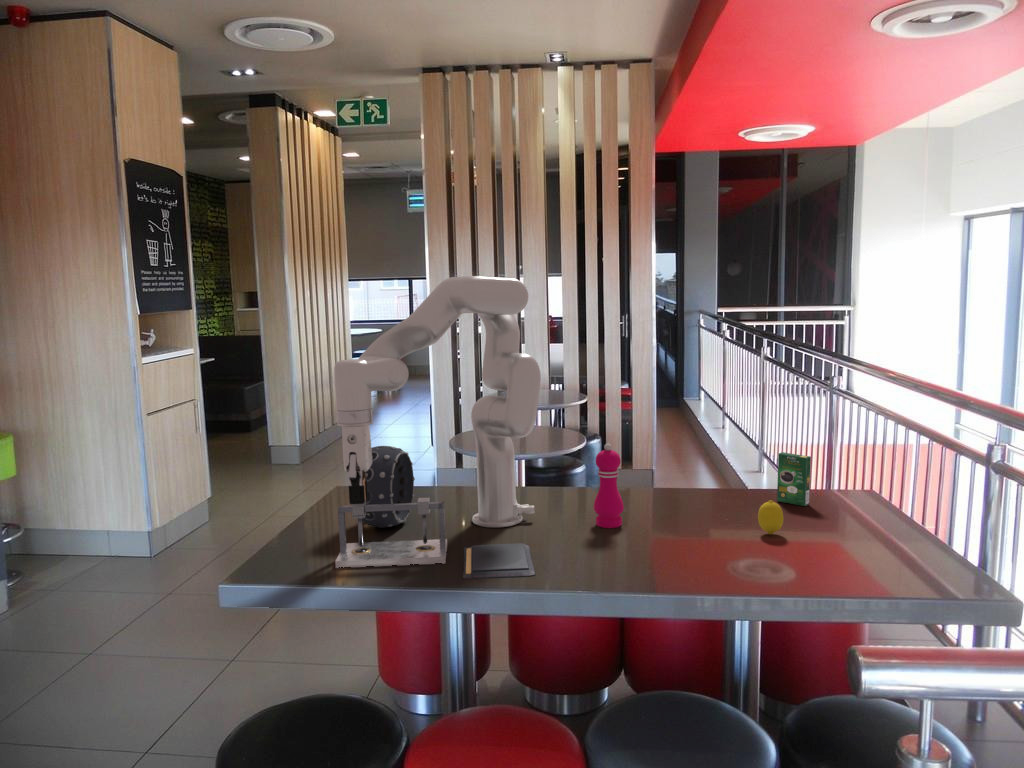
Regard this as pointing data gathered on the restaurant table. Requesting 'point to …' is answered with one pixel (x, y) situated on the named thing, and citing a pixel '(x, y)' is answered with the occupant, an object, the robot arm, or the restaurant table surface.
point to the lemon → (770, 517)
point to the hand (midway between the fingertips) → (358, 500)
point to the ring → (389, 485)
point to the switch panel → (394, 550)
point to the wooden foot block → (359, 515)
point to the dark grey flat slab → (498, 561)
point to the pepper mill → (608, 490)
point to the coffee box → (793, 478)
